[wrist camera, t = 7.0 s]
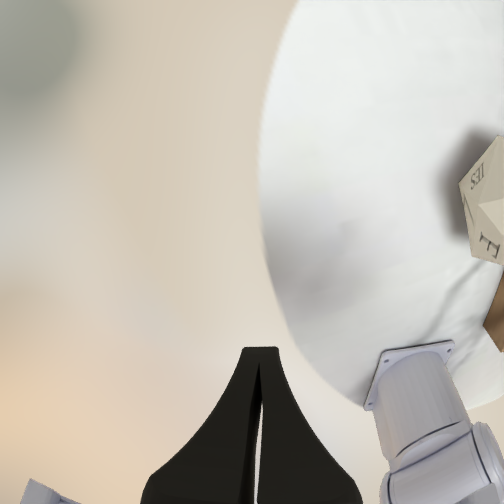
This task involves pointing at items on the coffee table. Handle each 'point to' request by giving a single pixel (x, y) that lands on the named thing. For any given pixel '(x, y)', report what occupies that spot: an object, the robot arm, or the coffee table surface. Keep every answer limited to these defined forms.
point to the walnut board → (496, 318)
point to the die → (486, 203)
